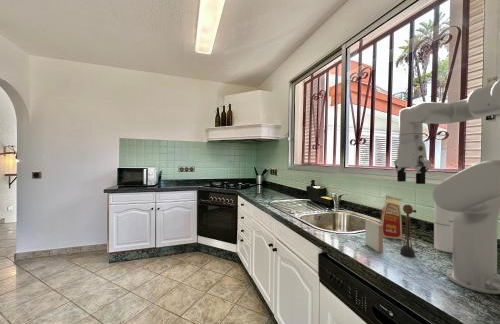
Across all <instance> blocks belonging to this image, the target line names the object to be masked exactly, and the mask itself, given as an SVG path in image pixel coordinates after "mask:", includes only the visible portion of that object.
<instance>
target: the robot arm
mask: <svg viewBox="0 0 500 324" xmlns="http://www.w3.org/2000/svg"><path fill="white" fill-rule="evenodd" d="M495 115H500V79H498V80H496V82H495V83H494V84H492V85H491V84H490V85H486V86H484V87H483V86H482V87H479V88H476V89H473V90H472V91H471V92H470V93H469V95H468V97H467V98H464V99H461V100H457V101H453V102H452V101H451V102H436V101H423V102H419V103H417V104H415V105H412V106H411V107H410V106H409V107H404V108H401V109H400V110H399V113H398V130H399V131H398V141H399V142H398V148H397V157H396V160H394V161H393V164H394V167H395V168H394V169H396V172H397V179H396V181H397V182H406V181H407V173H406V172H407V171H406V170H407V169H415V171H416V172H415V184H417V185H425V184H426V174H427V173H428V170H429V169H430V166H431V163H432V162H431V161H430V160H429V159H427V150H426V149H427V148H426V144H425V141H423V139H424V138H423V137H424V136H423V124H433V125H434V124H436V125H443V124H444V125H448V124H454V123H462V122H467V121H471V120H475V119H480V118H484V117H489V116H490V117H491V116H495ZM432 199H433V203H434V202H435V203H436V204H437V205H438V206H439V207H440V208H442V209H444V210H447V211H451V212H455V215H454V218H453V253H452V268H448V269H447V270H446V271H445V275H446V277H447V278H448V279H449V280H450V281H451V282H452V283H454V284H457V285H458V286H461V287H463V288H466V289H469V290H471V291H475V292H479V293H485V294H490V295H491V294H492V295H500V274H499V273H498V223H499V214H500V159H492V160H491V159H490V160H484V161H481V162H478V163H475V164H473V165H470V166H469V167H468V166H467V168H465V169H462V170H461V171H458V172H456V173H454V174H453V175H451V176H449V177H447V178H445V179H443V180H441V181H439V182H438V183H437V184H436V185H435V186H434V188H433V190H432Z"/></svg>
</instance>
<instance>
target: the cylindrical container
mask: <svg viewBox="0 0 500 324" xmlns="http://www.w3.org/2000/svg"><path fill="white" fill-rule="evenodd" d="M433 203H434V204H433V206H434V207H433V209H434V212H433V213H434V215H433V216H434V217H433V220H434V221H433V222H434V223H433V227H434V228H433V239H434V241H433V247H434V249H436V250H438V251H441V252H445V253H451V254H453V218H454V215H455V212H451V211H447V210H444V209H442V208H440V207H439V206H438V205H437V204H436V203H435V202H434V201H433Z"/></svg>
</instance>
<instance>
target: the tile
mask: <svg viewBox="0 0 500 324" xmlns="http://www.w3.org/2000/svg"><path fill="white" fill-rule="evenodd" d="M364 229H365V233H364V234H365V235H364V236H365V238H364V240H365V245H366V246H368V247H369V248H371V249H373V250H374V251H376V252H377V253H384V237H383V225H381V223H378V222H376V221H374V220H371V219H369V218H368V219H365V228H364Z"/></svg>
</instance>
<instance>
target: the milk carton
mask: <svg viewBox="0 0 500 324" xmlns="http://www.w3.org/2000/svg"><path fill="white" fill-rule="evenodd" d="M402 200H403V198H398V197H394V196H390V195H387V194H385V201H384V204H383V208H382V211H381V216H380V224H381V225H383V238H387V239H388V238H389V239H395V240H396V239H397V240H402V239H403V228H402V227H403V224H402V213H401V202H402Z"/></svg>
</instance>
